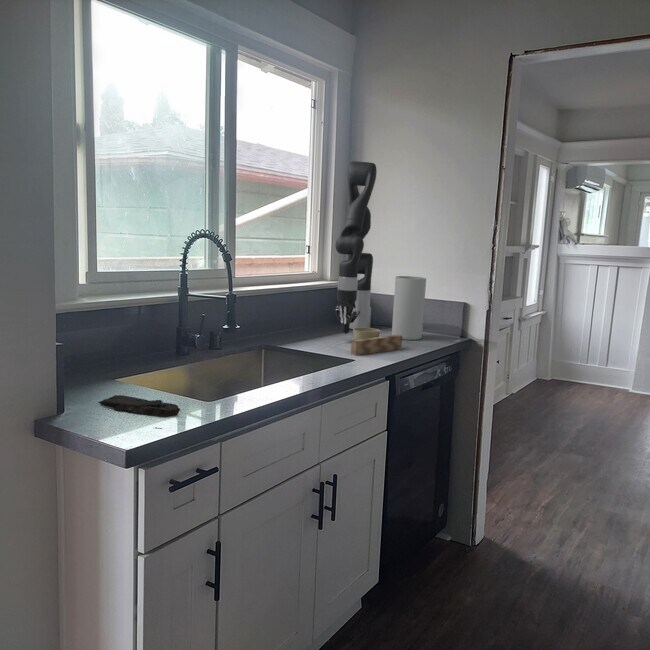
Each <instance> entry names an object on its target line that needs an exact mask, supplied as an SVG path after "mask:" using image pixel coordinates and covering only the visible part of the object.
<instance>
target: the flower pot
mask: <svg viewBox="0 0 650 650" xmlns="http://www.w3.org/2000/svg"><path fill="white" fill-rule="evenodd" d="M352 333H353V337H354V340H358V339H366V338H373V337H380V333H381V330H380V329H378V328H373V327H370V328H354V329H352Z"/></svg>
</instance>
